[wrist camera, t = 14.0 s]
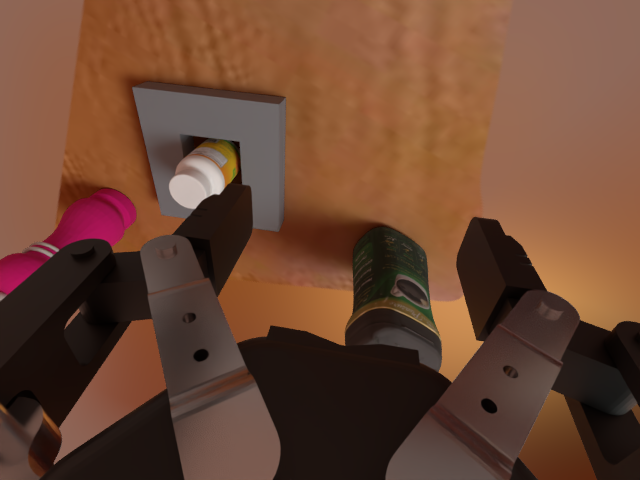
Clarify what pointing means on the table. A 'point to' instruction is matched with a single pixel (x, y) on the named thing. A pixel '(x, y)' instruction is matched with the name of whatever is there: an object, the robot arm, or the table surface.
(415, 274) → the coffee jar
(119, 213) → the pepper mill
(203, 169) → the supplement bottle
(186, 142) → the socket block
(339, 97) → the table surface
